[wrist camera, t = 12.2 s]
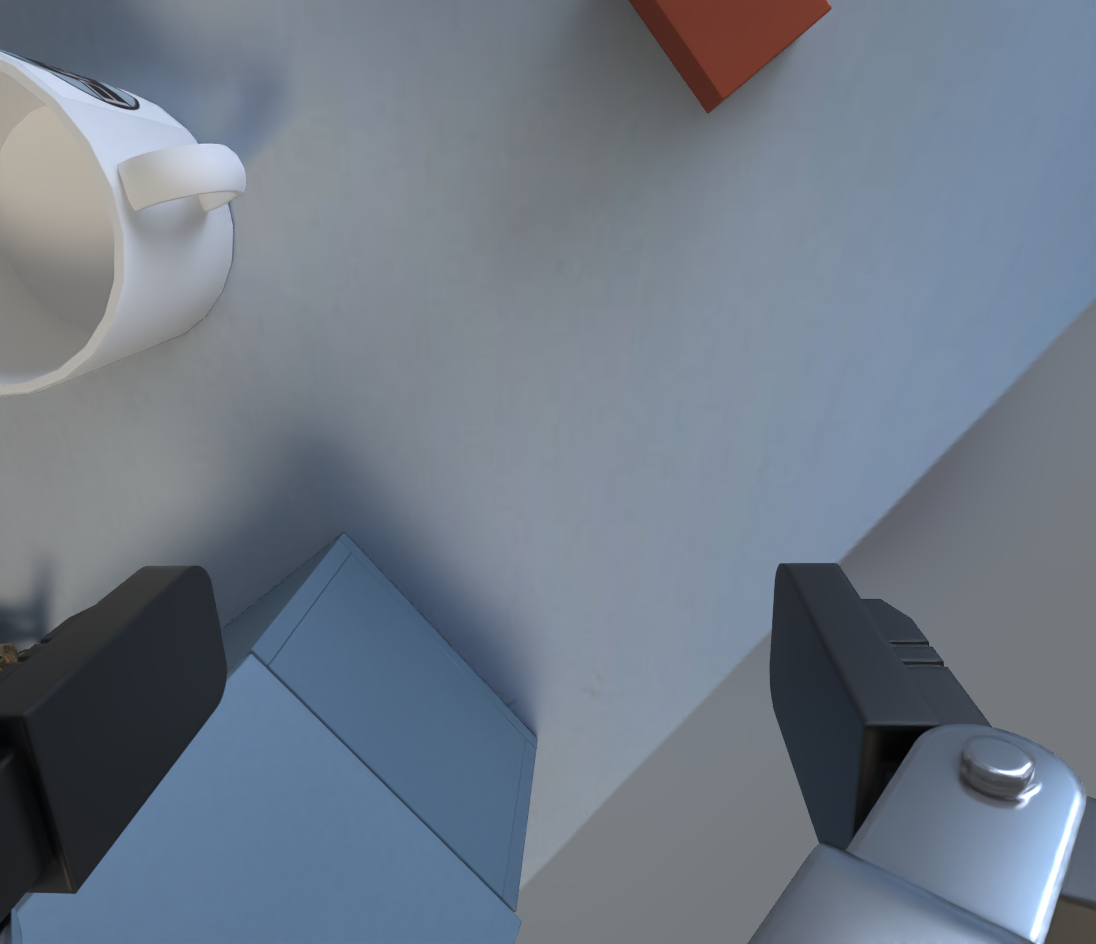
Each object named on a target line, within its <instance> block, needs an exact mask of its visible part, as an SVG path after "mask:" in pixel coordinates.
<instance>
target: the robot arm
mask: <svg viewBox="0 0 1096 944" xmlns="http://www.w3.org/2000/svg"><path fill="white" fill-rule="evenodd" d="M226 680H227V662H226V656H225V651H224V646H223V641H222V636H221V630H220V625H219V620H218V615H217V610H216V604H215V599H214V594H213V589H212V584H211V580H210V578H209V575H208V574H207V572H206V571H205V569H203V568H202V567H200V566H146V567H143V568H141V569H140V570H138V571H137V572H136V573H135V574H133V575H132V576H131V577H130V578H128V579H127V580H126V581H125V582H123V583H122V584H121V585H120V586H118V587H117V588H116V589H114V590H113V591H112V592H111V593H109V594H108V595H107V596H106V597H104V598H103V599H102V600H101V601H99V602H98V603H97V604H96V605H94V606H92V607H90V608H88V609H86V610H84V611H82V612H80V613H78V614H76V615H74V616H72V617H70V618H68V619H67V620H65V621H64V622H63V623H62V624H60V625H59V626H58V627H56V628H55V629H54V630H53V631H51V632H50V633H49V634H48V635H46V636H45V637H44V638H42V639H41V644H35V645H33V646H32V647H31V648H30V649H28V650H27V651H26V652H24V653H23V654H22V655H21V656H19V657H18V662H12V663H10V664H9V665H8V666H7V667H5V668H4V669H3V670H1V671H0V944H22V929H21V924H20V921H19V918H18V915H17V912H16V909H15V905H16V904H17V903H18V902H19V901H20V899H21V898H22V897H23V896H24V895H25V893H60V894H76V893H77V892H78V890H79V889H80V888H81V886H82V885H83V884H84V882H85V881H86V880H87V879H88V877H89V876H90V875H91V873H92V872H93V871H94V869H95V868H96V867H97V865H98V864H99V863H100V861H101V860H102V859H103V857H104V856H105V855H106V853H107V852H108V851H109V850H110V848H111V847H112V846H113V844H114V843H115V842H116V840H117V839H118V838H119V836H120V835H121V834H122V832H123V831H124V830H125V828H126V827H127V826H128V824H129V823H130V822H131V821H132V819H133V818H134V817H135V815H136V814H137V813H138V811H139V810H140V809H141V807H142V806H143V805H144V803H145V802H146V801H147V799H148V798H149V797H150V795H151V794H152V793H153V792H154V790H155V789H156V788H157V786H158V785H159V784H160V782H161V781H162V780H163V778H164V777H165V776H166V774H167V773H168V772H169V770H170V769H171V768H172V766H173V765H174V764H175V763H176V761H177V760H178V759H179V757H180V756H181V755H182V753H183V752H184V751H185V749H186V748H187V747H188V745H189V744H190V743H191V741H192V740H193V739H194V737H195V736H196V735H197V734H198V732H199V731H200V730H201V728H202V727H203V726H204V724H205V723H206V722H207V720H208V719H209V718H210V716H211V715H212V714H213V712H214V711H215V710H216V708H217V707H218V705H219V704H220V702H221V699H222V697H223V694H224V690H225V686H226ZM770 689H771V696H772V702H773V708H774V711H775V715H776V718H777V721H778V724H779V727H780V730H781V733H782V736H783V739H784V741H785V744H786V747H787V750H788V753H789V756H790V759H791V762H792V765H793V768H794V771H795V774H796V777H797V779H798V782H799V785H800V788H801V791H802V794H803V797H804V800H805V803H806V806H807V809H808V812H809V815H810V818H811V821H812V824H813V826H814V830H815V832H816V835H817V838H818V841H819V844H818V845H817V846H816V847H815V848H814V849H813V850H812V851H811V853H810V854H809V855H808V857H807V858H806V860H805V861H804V862H803V864H802V865H801V867H800V868H799V870H798V871H797V873H796V874H795V876H794V877H793V878H792V880H791V881H790V883H789V884H788V886H787V887H786V889H785V890H784V891H783V893H782V894H781V896H780V897H779V899H778V900H777V902H776V903H775V905H774V906H773V907H772V909H771V910H770V912H769V913H768V915H767V916H766V918H765V919H764V921H763V922H762V923H761V925H760V926H759V928H758V929H757V931H756V932H755V934H754V935H753V936H752V938H751V939H750V941H749V942H748V944H1096V799H1095V798H1092V797H1089V796H1086V792H1085V788H1084V786H1083V784H1082V782H1081V780H1080V778H1079V777H1078V776H1077V774H1076V773H1075V772H1074V770H1073V769H1072V768H1070V766H1069V765H1068V764H1066V763H1065V761H1063V760H1062V759H1061V758H1059V757H1058V756H1057V755H1055V754H1054V753H1053V752H1051V751H1050V750H1048V749H1046V748H1044V747H1043V746H1041V745H1039V744H1037V743H1035V742H1033V741H1031V740H1029V739H1027V738H1025V737H1022V736H1020V735H1017V734H1015V733H1011V732H1008V731H1005V730H1002V729H997V728H993V727H992V726H991V725H990V723H989V722H988V721H987V719H986V718H985V717H984V716H983V714H982V713H981V711H980V710H979V709H978V707H977V706H976V705H975V703H974V702H973V701H972V700H971V698H970V697H969V695H968V694H967V693H966V691H965V690H964V689H963V687H962V686H961V685H960V683H959V682H958V680H957V679H956V678H955V676H954V675H953V674H952V672H951V671H950V670H949V668H948V667H944V662H943V661H942V659H941V658H940V656H939V655H938V654H937V653H936V651H935V650H934V649H933V647H929V642H928V641H927V639H926V638H925V636H924V635H923V634H922V632H921V631H920V629H918V627H917V625H916V624H915V623H914V621H913V620H912V619H911V618H910V617H908V616H906V615H905V614H903V613H902V612H900V611H899V610H897V609H895V608H894V607H892V606H891V605H889V604H888V603H886V602H884V601H883V600H881V599H861V598H860V597H859V595H858V594H857V592H856V591H855V589H854V587H853V586H852V584H851V583H850V581H849V580H848V578H847V577H846V575H845V574H844V573H843V571H842V569H841V568H840V566H839V565H838V564H837V563H780V564H779V566H778V568H777V571H776V576H775V587H774V603H773V619H772V636H771V652H770Z"/></svg>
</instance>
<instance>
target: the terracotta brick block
mask: <svg viewBox="0 0 1096 944" xmlns="http://www.w3.org/2000/svg"><path fill="white" fill-rule="evenodd" d="M629 2H630V3H631V4H632V6H633V7H634V9H635V10H636V12H637V13H638V14H639V16H640V17H641V19H642V20H643V22H644V23H645V25H646V26H647V27H648V29H649V30H650V32H651V33H652V35H653V36H654V37H655V39H656V40H657V42H658V43H659V45H660V46H661V47H662V49H663V50H664V52H665V53H666V55H667V56H668V57H669V59H670V60H671V62H672V63H673V65H674V66H675V68H676V69H677V70H678V72H679V73H680V75H681V76H682V78H683V79H684V80H685V82H686V83H687V85H688V86H689V88H690V89H691V90H692V92H693V93H694V95H695V96H696V98H697V99H698V100H699V102H700V103H701V105H702V106H703V108H704V109H705V111H706V112H707V113H710V112H711V111H712V110H713V109H714V108H715V107H717V106H718V105H719V104H720V103H721V102H723V101H724V100H725V99H726V98H727V97H729V96H730V95H731V94H732V93H733V92H734V91H736V90H737V89H738V88H739V87H740V86H742V85H743V84H744V83H745V82H746V81H747V80H749V79H750V78H751V77H752V76H753V75H755V74H756V73H757V72H758V71H759V70H761V69H762V68H763V67H764V66H765V65H766V64H768V63H769V62H770V61H771V60H772V59H774V58H775V57H776V56H777V55H778V54H780V53H781V52H782V51H783V50H784V49H785V48H787V47H788V46H789V45H790V44H791V43H793V42H794V41H795V40H796V39H797V38H798V37H800V36H801V35H802V34H803V33H804V32H805V31H807V30H808V29H809V28H810V27H811V26H812V25H814V24H815V23H816V22H817V21H818V20H819V19H821V18H822V17H823V16H824V15H825V14H826V13H827V12H829V11H830V10H831V6H830V4H829V3H828V1H827V0H629Z"/></svg>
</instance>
